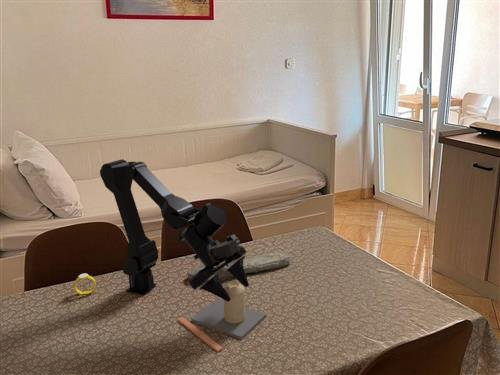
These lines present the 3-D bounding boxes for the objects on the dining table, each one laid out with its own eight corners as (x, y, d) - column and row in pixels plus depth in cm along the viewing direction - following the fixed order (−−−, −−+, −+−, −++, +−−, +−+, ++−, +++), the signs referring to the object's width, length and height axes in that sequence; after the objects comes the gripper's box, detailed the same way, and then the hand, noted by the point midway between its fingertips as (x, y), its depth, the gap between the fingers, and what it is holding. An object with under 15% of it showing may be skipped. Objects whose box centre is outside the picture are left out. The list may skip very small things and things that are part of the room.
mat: (191, 321, 126) (190, 318, 126) (217, 300, 136) (217, 298, 135) (241, 339, 118) (241, 336, 117) (266, 316, 127) (266, 314, 127)
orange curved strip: (177, 320, 126) (177, 318, 126) (182, 318, 127) (182, 316, 127) (217, 352, 113) (217, 350, 113) (222, 349, 114) (222, 347, 114)
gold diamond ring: (75, 297, 140) (71, 279, 138) (76, 293, 142) (72, 275, 140) (97, 293, 141) (93, 275, 139) (97, 289, 143) (93, 271, 142)
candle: (248, 321, 124) (247, 287, 121) (227, 325, 122) (226, 290, 119) (241, 310, 129) (240, 277, 126) (221, 314, 127) (220, 281, 124)
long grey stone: (296, 271, 155) (283, 261, 164) (297, 256, 154) (283, 246, 163) (192, 287, 143) (183, 275, 152) (191, 271, 142) (183, 259, 151)
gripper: (196, 241, 113) (236, 295, 110) (240, 217, 128) (276, 264, 125) (173, 264, 119) (210, 315, 117) (217, 238, 134) (251, 283, 132)
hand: (238, 293), depth 122 cm, fingers open, 8 cm apart
